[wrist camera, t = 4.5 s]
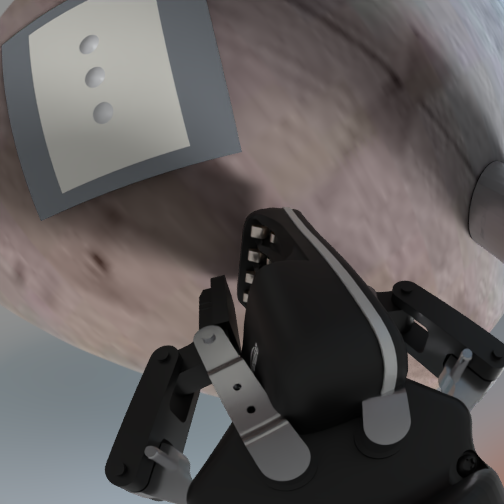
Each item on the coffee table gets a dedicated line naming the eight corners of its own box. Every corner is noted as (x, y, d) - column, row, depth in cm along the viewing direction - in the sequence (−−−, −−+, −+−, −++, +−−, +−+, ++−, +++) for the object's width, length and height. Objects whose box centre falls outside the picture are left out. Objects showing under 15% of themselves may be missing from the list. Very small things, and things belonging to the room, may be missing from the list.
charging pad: (194, -38, 8) (194, -47, 7) (239, 149, 14) (241, 152, 14) (9, 47, 8) (0, 45, 7) (48, 215, 14) (40, 221, 13)
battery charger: (232, 198, 14) (292, 394, 4) (300, 203, 15) (435, 360, 5) (223, 304, 18) (251, 481, 8) (280, 303, 18) (340, 463, 8)
